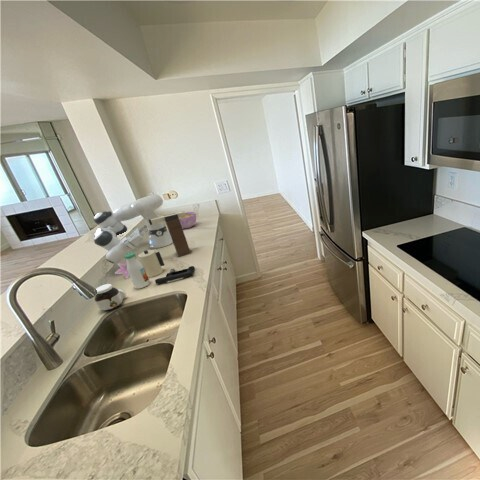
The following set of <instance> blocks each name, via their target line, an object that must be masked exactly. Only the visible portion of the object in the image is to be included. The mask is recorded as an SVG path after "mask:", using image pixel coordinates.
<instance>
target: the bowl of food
mask: <svg viewBox="0 0 480 480" xmlns="http://www.w3.org/2000/svg"><path fill="white" fill-rule="evenodd" d="M185 214H186V216H183V217H179V220H180V223H181V226H182V229H183V230H184V229H190V228H193V226H194V225H196V223H197V212H195V211H187V212H185Z"/></svg>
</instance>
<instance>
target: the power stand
mask: <svg viewBox="0 0 480 480" xmlns="http://www.w3.org/2000/svg"><path fill="white" fill-rule="evenodd" d="M175 213H176V212H174V213H169V214H168V215H171V214H175ZM166 215H167V214H164V216H166ZM164 218H165V221H164V223H165V226H166V228H167V231H169V233H170V236H171V239H172V241H173V243H172V244H173V247H174V249H175V252H176V255H177V257H178V258H181V257H183V256H187V255H190V254H191V250H190V247H189V244H188V240H187V238H186V234H185V232H184V228H182V226H181V223H180V220H179V218H178V215H177V214H176V215H171V216H167V217H164Z"/></svg>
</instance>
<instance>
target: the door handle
mask: <svg viewBox="0 0 480 480" xmlns="http://www.w3.org/2000/svg"><path fill="white" fill-rule="evenodd" d="M194 271H195V266H193V265H191V266H188V267H187V268H185V269H180V270H175V268H171V269H170V270H169V272H168V273H166V274H165V276H163V277H160V278H157V279H156V278H155V279H154V282H155V284H156V285H160V284H164V283H168V284H169V283H173V282H175V281H179V280H183V279H185V278H188V277H192V276H194Z"/></svg>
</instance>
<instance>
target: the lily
mask: <svg viewBox="0 0 480 480" xmlns="http://www.w3.org/2000/svg"><path fill="white" fill-rule="evenodd" d="M116 264H117V266H118V267H119V269H116V271H115V272H114V275H123V274H124V277H125V279H128V278H130V276H129V273H128V271H127V260H126V259H125V262H124V263H121V262H118V263H116Z"/></svg>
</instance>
